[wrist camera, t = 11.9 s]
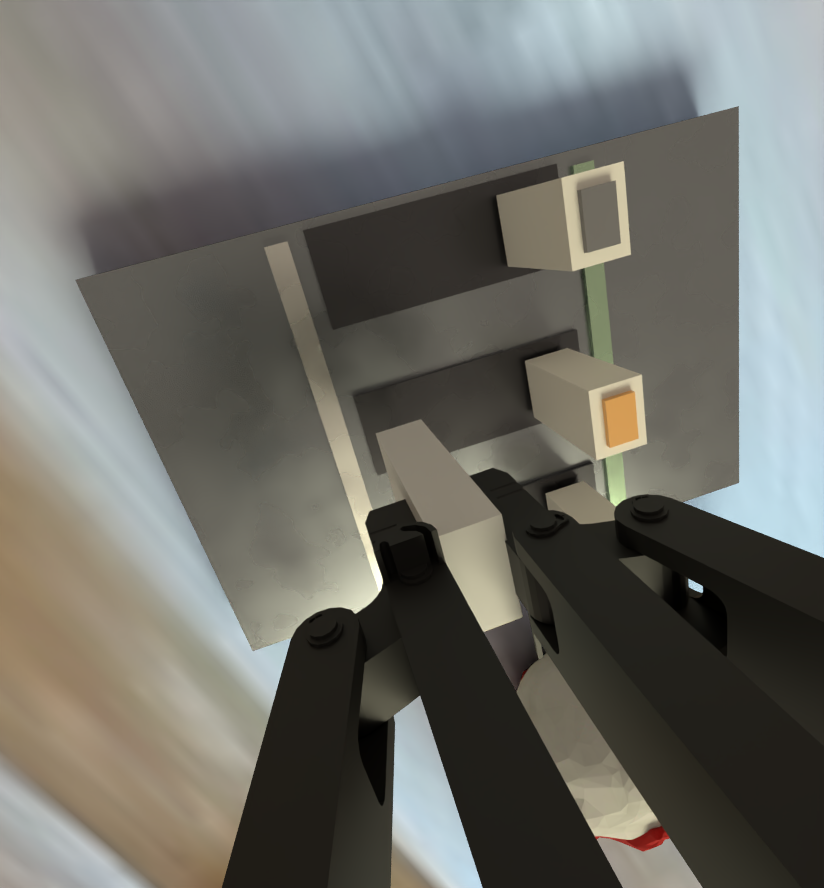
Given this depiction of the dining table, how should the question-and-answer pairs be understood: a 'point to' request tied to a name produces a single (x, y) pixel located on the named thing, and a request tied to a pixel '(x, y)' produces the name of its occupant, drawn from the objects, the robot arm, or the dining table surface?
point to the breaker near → (567, 221)
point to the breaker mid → (588, 401)
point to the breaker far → (581, 503)
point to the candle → (587, 761)
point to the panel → (425, 359)
